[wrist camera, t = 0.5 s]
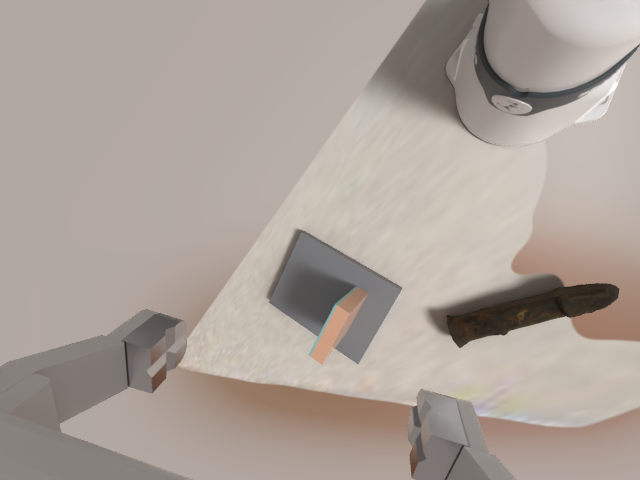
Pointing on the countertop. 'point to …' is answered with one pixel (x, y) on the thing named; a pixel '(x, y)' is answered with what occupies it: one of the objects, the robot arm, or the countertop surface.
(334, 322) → the tile
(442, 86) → the countertop surface
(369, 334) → the board
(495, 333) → the hand tool
